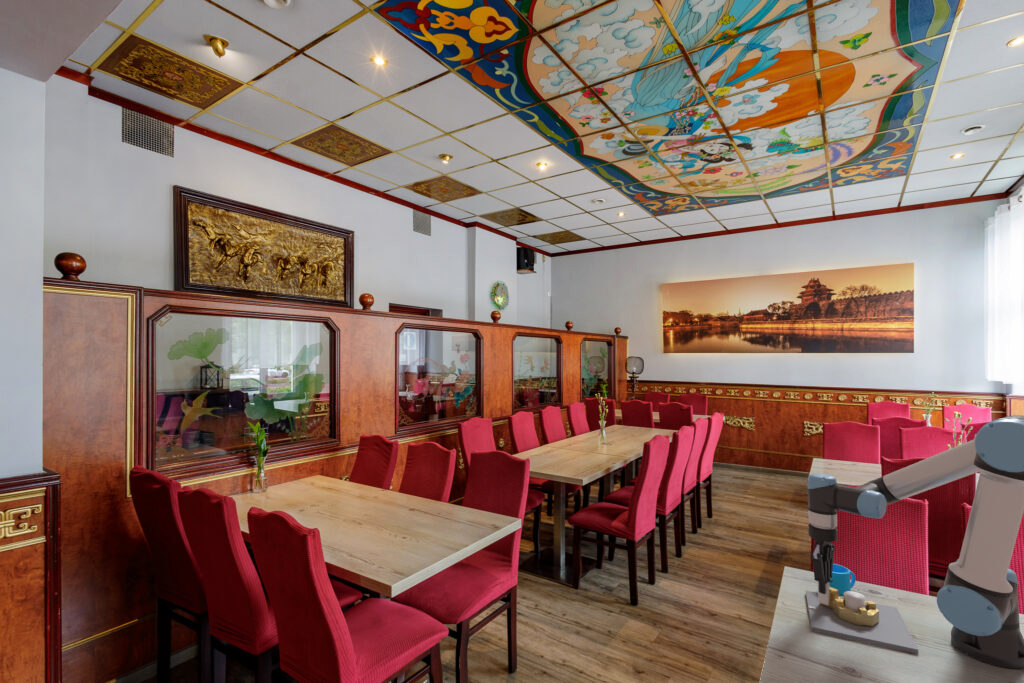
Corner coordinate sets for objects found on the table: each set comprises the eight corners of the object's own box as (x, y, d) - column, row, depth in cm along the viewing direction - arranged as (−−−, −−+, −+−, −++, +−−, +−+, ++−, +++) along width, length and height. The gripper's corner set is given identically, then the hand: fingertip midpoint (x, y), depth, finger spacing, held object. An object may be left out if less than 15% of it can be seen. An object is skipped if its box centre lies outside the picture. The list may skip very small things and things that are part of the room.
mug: (836, 600, 155) (835, 575, 155) (815, 589, 163) (814, 564, 163) (866, 596, 157) (865, 571, 158) (844, 584, 165) (843, 560, 166)
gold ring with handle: (883, 617, 142) (882, 598, 142) (868, 629, 136) (868, 609, 136) (828, 597, 154) (827, 580, 154) (812, 607, 148) (812, 589, 148)
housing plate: (896, 611, 148) (895, 586, 148) (918, 654, 127) (917, 625, 127) (805, 594, 159) (805, 571, 159) (811, 631, 138) (810, 604, 138)
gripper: (817, 518, 155) (818, 592, 154) (800, 526, 148) (802, 604, 147) (844, 524, 150) (845, 601, 148) (828, 533, 142) (830, 614, 141)
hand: (823, 603), depth 148 cm, fingers closed
